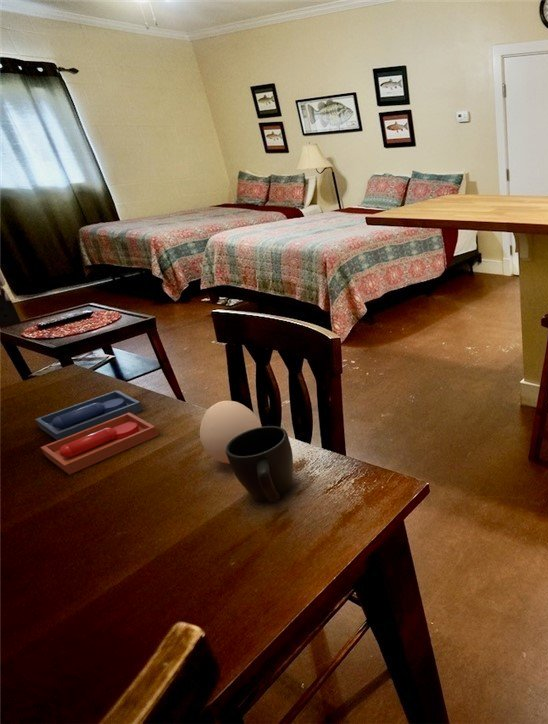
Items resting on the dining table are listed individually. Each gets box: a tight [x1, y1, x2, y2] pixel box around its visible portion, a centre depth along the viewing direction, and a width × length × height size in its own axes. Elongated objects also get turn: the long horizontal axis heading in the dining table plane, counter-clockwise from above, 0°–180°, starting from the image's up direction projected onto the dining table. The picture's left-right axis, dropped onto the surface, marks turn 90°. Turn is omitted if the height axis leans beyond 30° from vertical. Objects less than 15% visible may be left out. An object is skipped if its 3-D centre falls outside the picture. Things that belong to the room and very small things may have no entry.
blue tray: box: [34, 389, 144, 441], centre depth 94 cm, size 13×10×2 cm
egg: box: [199, 400, 262, 464], centre depth 80 cm, size 9×9×12 cm
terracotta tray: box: [40, 413, 159, 476], centre depth 86 cm, size 13×10×2 cm
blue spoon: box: [52, 399, 126, 428], centre depth 94 cm, size 11×4×2 cm, turn 150°
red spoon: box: [59, 422, 140, 458], centre depth 85 cm, size 11×4×2 cm, turn 150°
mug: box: [225, 425, 294, 503], centre depth 72 cm, size 8×12×10 cm
